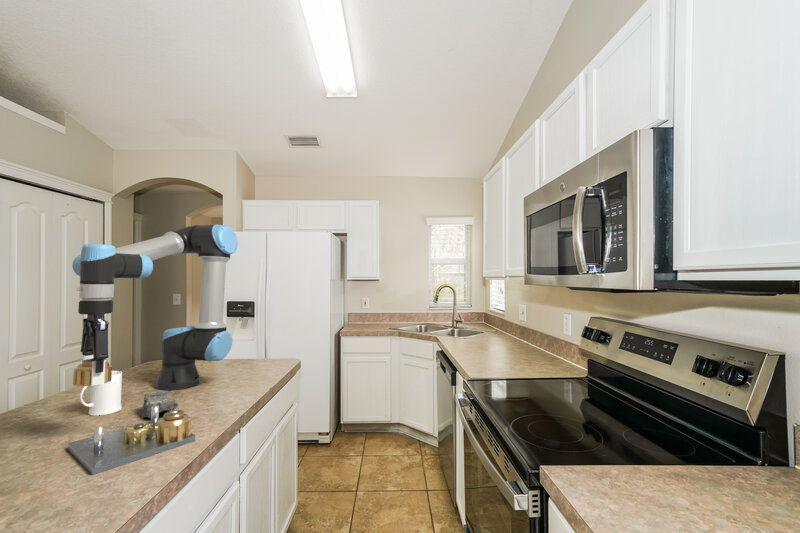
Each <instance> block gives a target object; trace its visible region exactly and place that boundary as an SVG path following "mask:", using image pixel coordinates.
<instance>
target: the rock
mask: <svg viewBox="0 0 800 533" xmlns="http://www.w3.org/2000/svg"><path fill="white" fill-rule="evenodd" d="M143 397H144V398H143V405H142V407H141V410H140V414H141V415H140V416H141V417H142V418H144V419H147V418H148V419H151V407H152V406H154V405H159V413H162V412H164V411H168V412H170V411H172V410H176V409H178V406H179V403H178V402H177V401H176V399H175V398H173V397H172V396H171V395H170V393H169V390H163V391H157V392H146V393H145V394H144V396H143Z"/></svg>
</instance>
